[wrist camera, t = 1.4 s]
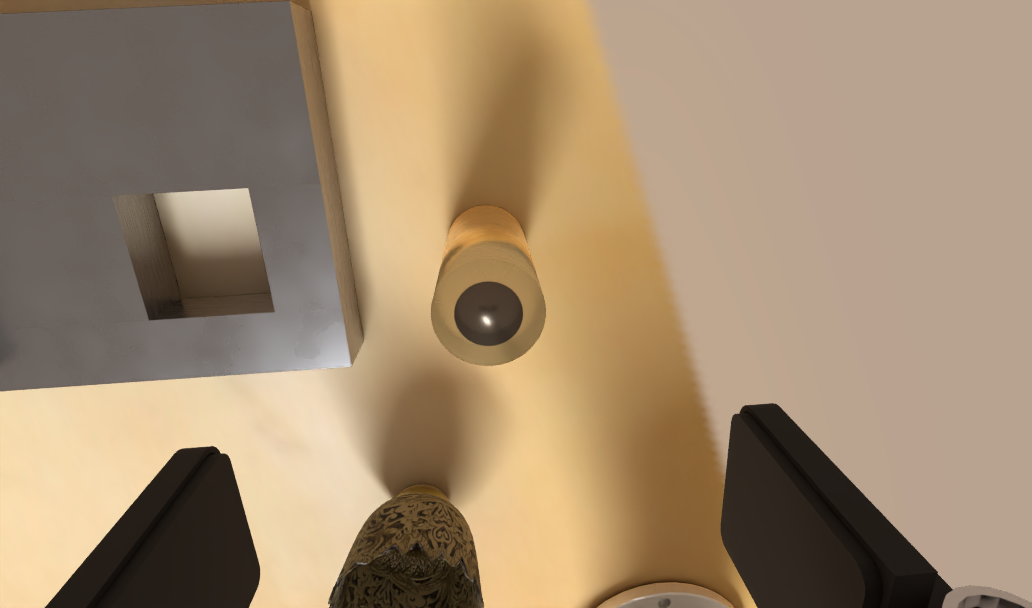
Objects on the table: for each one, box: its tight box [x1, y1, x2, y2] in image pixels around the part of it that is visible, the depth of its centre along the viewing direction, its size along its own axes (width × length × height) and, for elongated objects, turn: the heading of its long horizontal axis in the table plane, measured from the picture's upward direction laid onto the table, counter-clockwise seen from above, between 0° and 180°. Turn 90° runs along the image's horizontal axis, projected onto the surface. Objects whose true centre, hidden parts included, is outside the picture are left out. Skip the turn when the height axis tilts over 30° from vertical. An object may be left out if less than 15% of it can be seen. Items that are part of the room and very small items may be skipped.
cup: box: [328, 484, 484, 608], centre depth 31 cm, size 8×7×8 cm
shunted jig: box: [0, 1, 363, 391], centre depth 25 cm, size 16×20×5 cm
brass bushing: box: [431, 205, 546, 366], centre depth 24 cm, size 4×4×10 cm
